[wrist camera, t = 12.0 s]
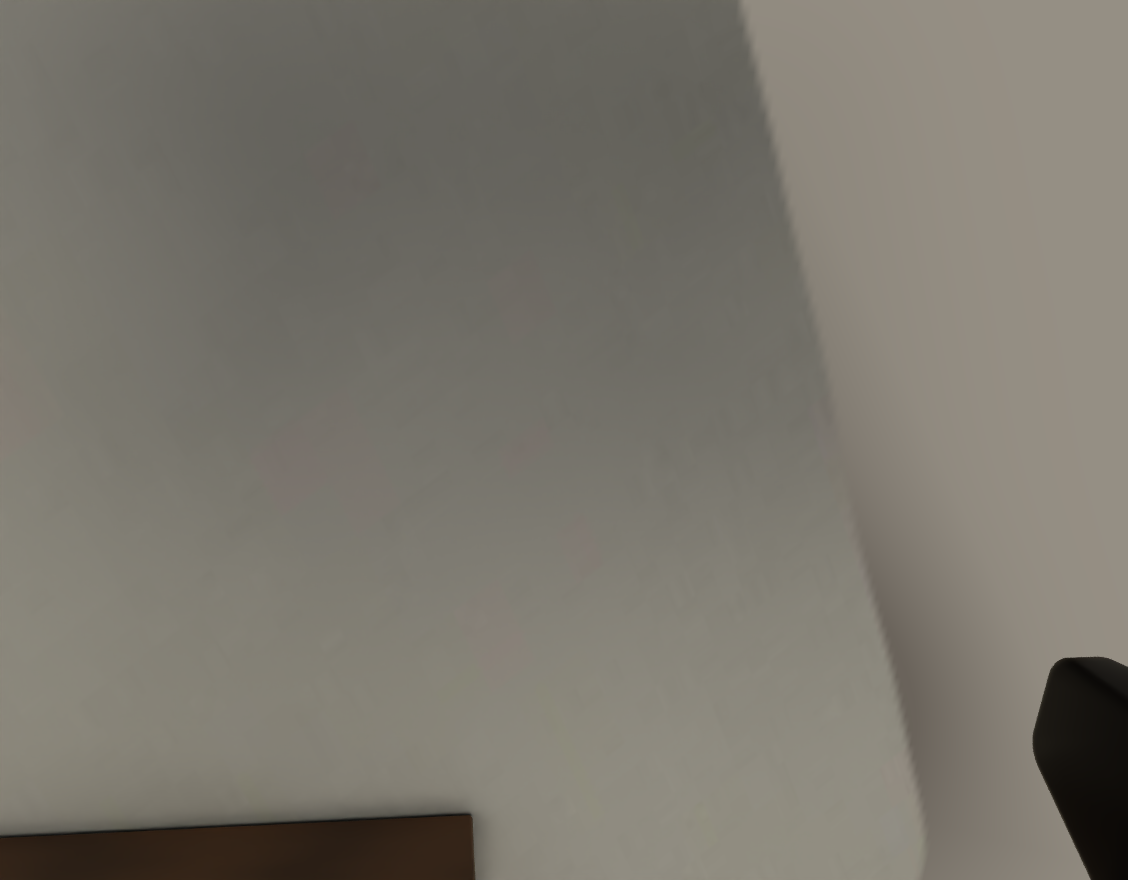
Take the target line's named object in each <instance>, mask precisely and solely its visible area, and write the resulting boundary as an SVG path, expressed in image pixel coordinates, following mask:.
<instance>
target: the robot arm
mask: <svg viewBox="0 0 1128 880" xmlns="http://www.w3.org/2000/svg"><path fill="white" fill-rule="evenodd" d="M1033 752H1034V756H1035V760H1036V763H1037V765H1038V767H1039V770H1040V772H1041V774H1042V776H1043V778H1044V780H1045V783H1046V785H1047V787H1048V789H1049V791H1050V793H1051V795H1052V797H1053V799H1054V802H1055V804H1056V806H1057V808H1058V810H1059V813H1060V814H1061V817H1062V819H1063V821H1064V823H1065V825H1066V828H1067V830H1068V832H1069V834H1070V836H1071V838H1072V840H1073V842H1074V845H1075V847H1076V849H1077V851H1078V853H1079V855H1080V857H1081V860H1082V862H1083V864H1084V866H1085V868H1086V870H1087V872H1088V874H1089V877H1090V879H1091V880H1128V667H1127V666H1124V665H1122V664H1120V663H1118V662H1116V661H1114V660H1111V659H1109V658H1104V657H1077V658H1063V659H1061V660H1059V661H1057V662H1056V663H1055V664H1054V666H1053V667H1052V668H1051V670H1050V673H1049V676H1048V680H1047V683H1046V687H1045V691H1044V694H1043V698H1042V702H1041V706H1040V709H1039V713H1038V716H1037V721H1036V724H1035V728H1034V732H1033Z"/></svg>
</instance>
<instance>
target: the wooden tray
mask: <svg viewBox="0 0 1128 880" xmlns="http://www.w3.org/2000/svg"><path fill="white" fill-rule="evenodd" d="M0 880H475V862H474V842H473V821H472V817H471V816H470V815H459V816H439V817H418V818H398V819H378V820H357V821H337V822H316V823H296V824H275V825H255V826H234V827H214V828H193V829H173V830H153V831H132V832H112V833H91V834H71V835H50V836H30V837H9V838H0Z"/></svg>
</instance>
